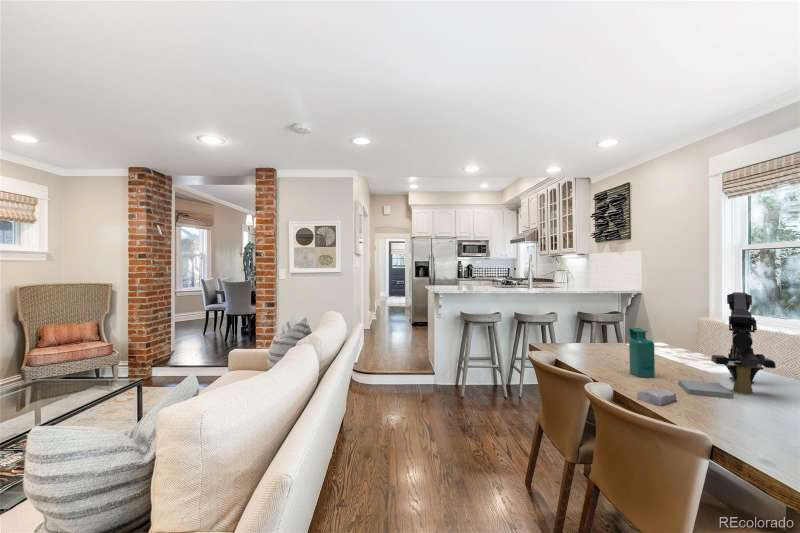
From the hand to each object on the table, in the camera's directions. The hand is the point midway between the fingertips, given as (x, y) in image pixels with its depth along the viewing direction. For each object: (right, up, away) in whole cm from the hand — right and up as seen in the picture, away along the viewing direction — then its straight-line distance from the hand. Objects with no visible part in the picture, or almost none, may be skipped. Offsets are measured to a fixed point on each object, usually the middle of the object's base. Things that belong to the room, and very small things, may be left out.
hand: (742, 382), depth 149 cm
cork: (0, -4, 0) cm, 4 cm away
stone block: (-41, -5, -7) cm, 42 cm away
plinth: (-14, -4, +2) cm, 15 cm away
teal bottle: (-25, -5, +26) cm, 36 cm away
